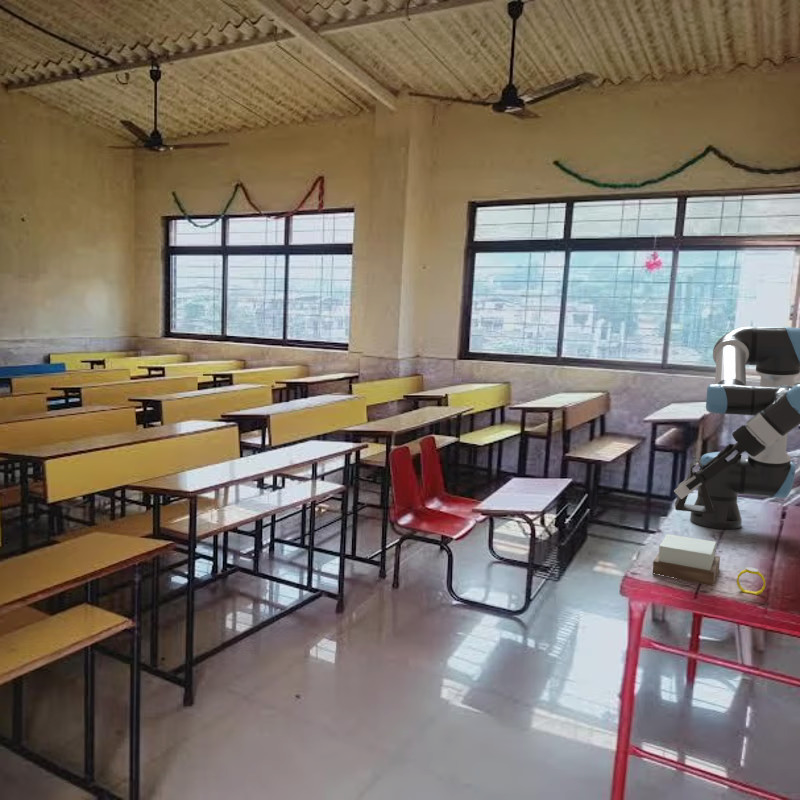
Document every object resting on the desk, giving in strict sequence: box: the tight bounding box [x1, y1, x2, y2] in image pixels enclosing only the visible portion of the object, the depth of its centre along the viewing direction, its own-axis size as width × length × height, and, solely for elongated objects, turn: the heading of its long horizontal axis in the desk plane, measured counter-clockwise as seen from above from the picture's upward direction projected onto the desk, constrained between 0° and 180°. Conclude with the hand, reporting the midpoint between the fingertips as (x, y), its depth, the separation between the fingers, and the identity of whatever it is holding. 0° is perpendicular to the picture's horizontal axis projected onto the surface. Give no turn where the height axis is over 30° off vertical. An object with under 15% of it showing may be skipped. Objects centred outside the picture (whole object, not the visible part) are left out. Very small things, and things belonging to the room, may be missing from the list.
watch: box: [736, 566, 766, 596], centre depth 155 cm, size 6×3×6 cm, turn 61°
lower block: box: [652, 553, 721, 587], centre depth 169 cm, size 14×14×4 cm
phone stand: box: [674, 460, 714, 514], centre depth 166 cm, size 9×6×12 cm, turn 67°
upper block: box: [658, 533, 717, 570], centre depth 168 cm, size 12×12×4 cm
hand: (679, 492), depth 168 cm, fingers closed on phone stand, 6 cm apart
